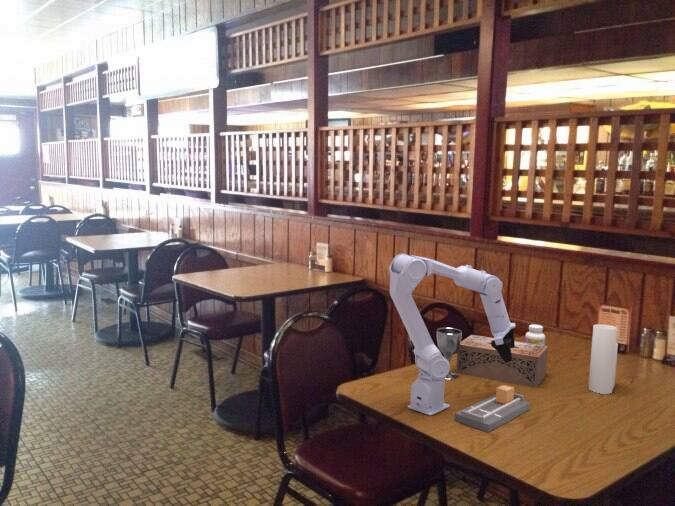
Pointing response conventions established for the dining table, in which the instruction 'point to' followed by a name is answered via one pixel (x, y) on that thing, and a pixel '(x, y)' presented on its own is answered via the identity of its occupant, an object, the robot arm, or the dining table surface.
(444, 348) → the wine glass
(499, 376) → the tissue box cover
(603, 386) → the candle
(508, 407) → the grey flat railed block
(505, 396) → the fader tab
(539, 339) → the supplement bottle
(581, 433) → the dining table surface
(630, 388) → the dining table surface
